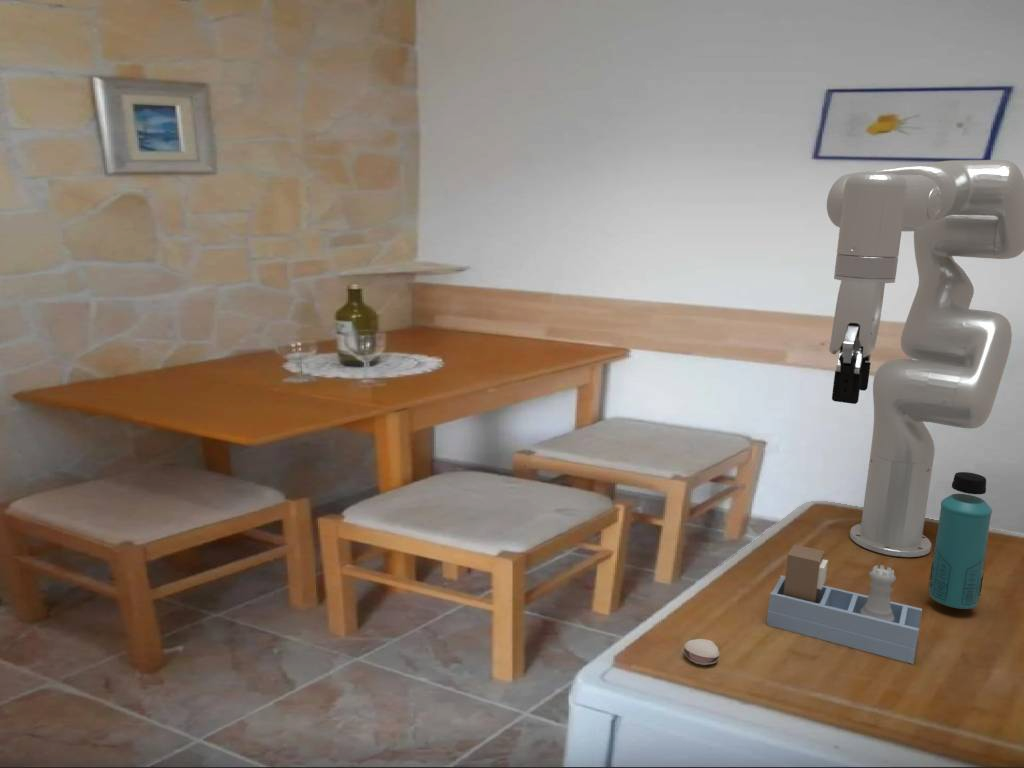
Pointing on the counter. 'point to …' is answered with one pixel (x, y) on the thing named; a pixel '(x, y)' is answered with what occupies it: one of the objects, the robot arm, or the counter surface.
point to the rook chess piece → (880, 594)
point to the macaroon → (701, 651)
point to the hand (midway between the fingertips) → (849, 395)
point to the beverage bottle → (961, 544)
